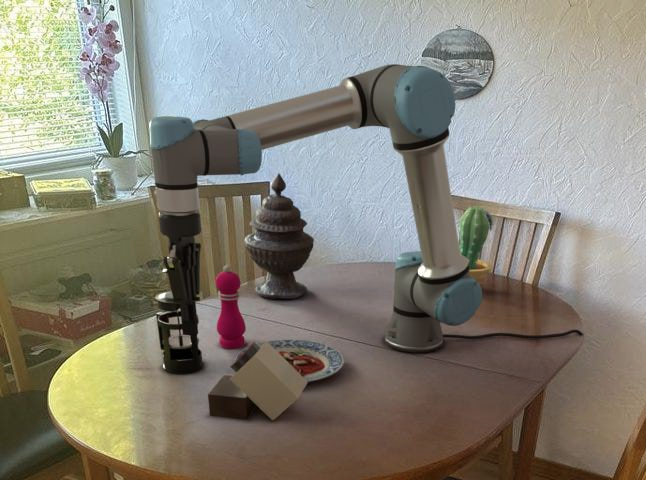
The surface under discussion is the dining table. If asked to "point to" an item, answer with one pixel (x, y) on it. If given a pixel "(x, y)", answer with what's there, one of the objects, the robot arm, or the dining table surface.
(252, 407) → the walnut block
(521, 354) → the dining table surface
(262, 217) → the decorative urn
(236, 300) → the pepper mill
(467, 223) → the potted cactus
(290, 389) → the beige box
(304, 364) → the ceramic plate
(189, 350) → the french press
